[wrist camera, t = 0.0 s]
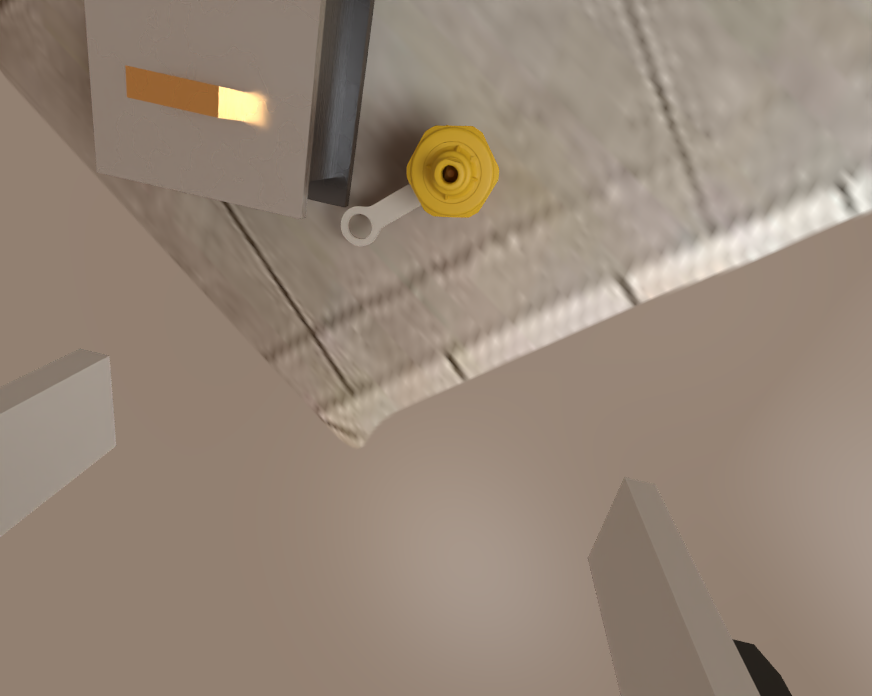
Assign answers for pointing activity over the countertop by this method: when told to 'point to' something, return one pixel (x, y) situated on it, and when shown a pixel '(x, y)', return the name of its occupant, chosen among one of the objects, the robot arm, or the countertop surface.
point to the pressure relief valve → (436, 180)
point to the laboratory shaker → (230, 96)
